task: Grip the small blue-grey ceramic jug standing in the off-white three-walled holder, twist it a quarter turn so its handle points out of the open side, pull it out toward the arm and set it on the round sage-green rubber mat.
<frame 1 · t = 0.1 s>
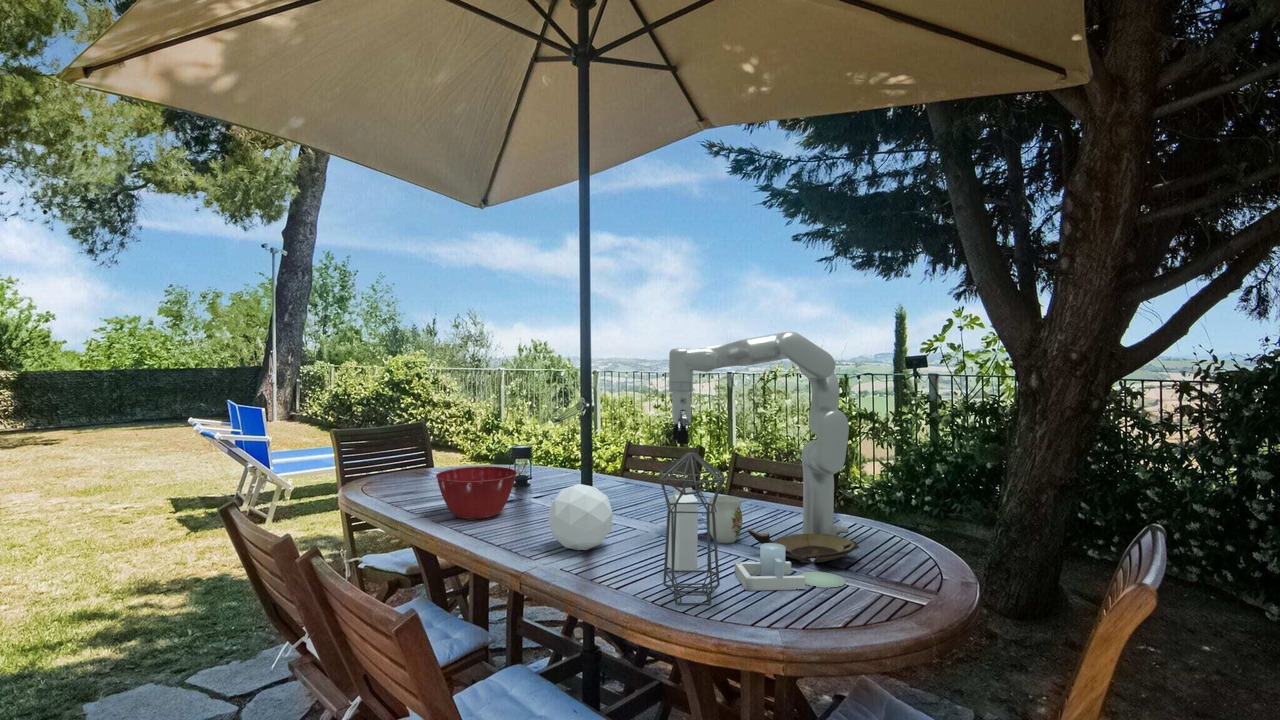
hand: (680, 441, 207), 31 cm above the table, tool pointing down, fingers open, 9 cm apart
jug: (772, 581, 170), resting in holder
holder: (768, 581, 170), on the table
mat: (821, 580, 171), on the table
geometric lantern: (690, 597, 158), on the table
pitcher: (725, 540, 209), on the table
ball: (580, 548, 198), on the table
oil lamp: (803, 558, 191), on the table
milk: (682, 569, 179), on the table
mixing bowl: (476, 516, 237), on the table
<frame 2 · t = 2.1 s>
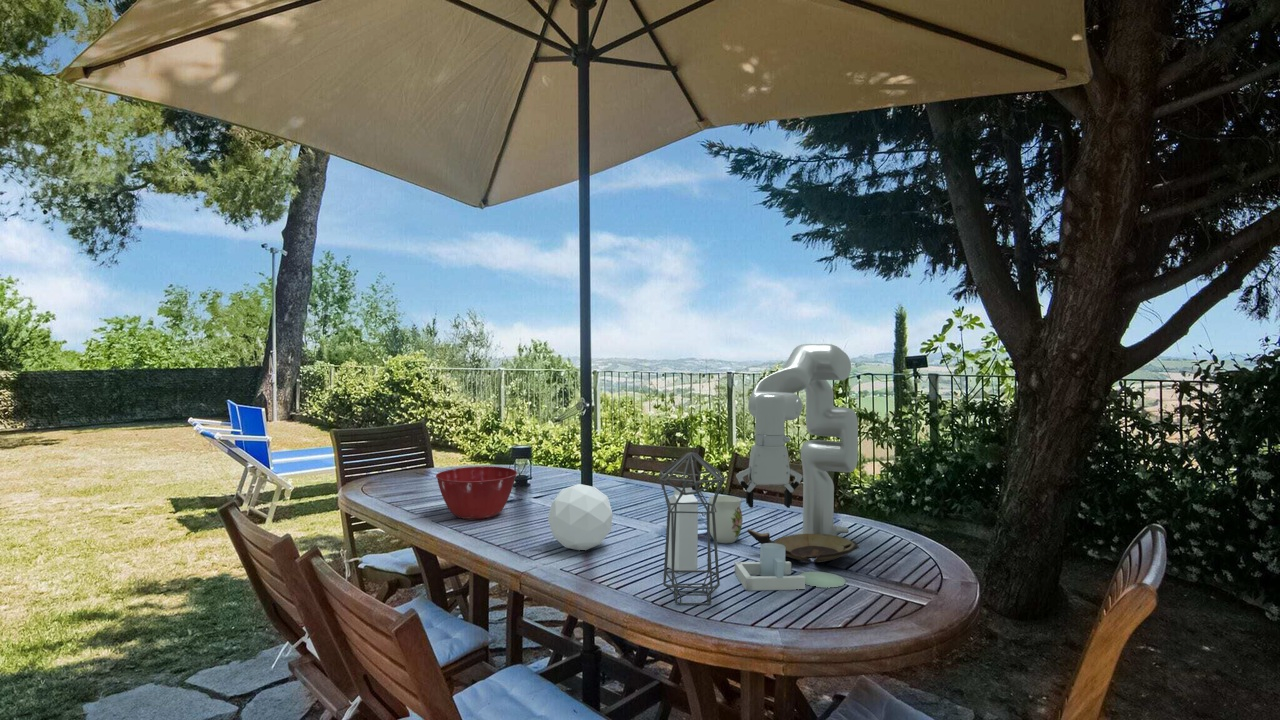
hand: (768, 506, 171), 19 cm above the table, tool pointing down, fingers open, 9 cm apart
nothing on the table moved.
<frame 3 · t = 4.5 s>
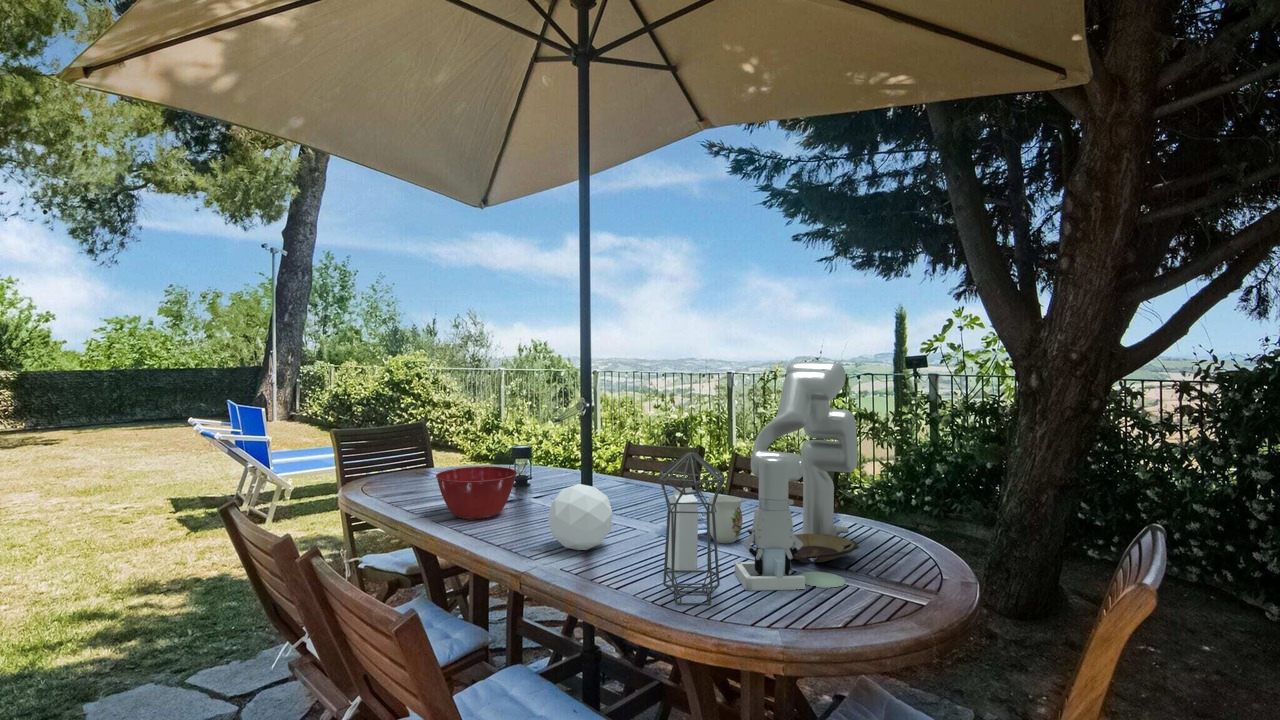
hand: (772, 572, 170), 2 cm above the table, tool pointing down, fingers closed on jug, 6 cm apart
jug: (772, 581, 170), resting in holder, touching gripper
everything else where it was.
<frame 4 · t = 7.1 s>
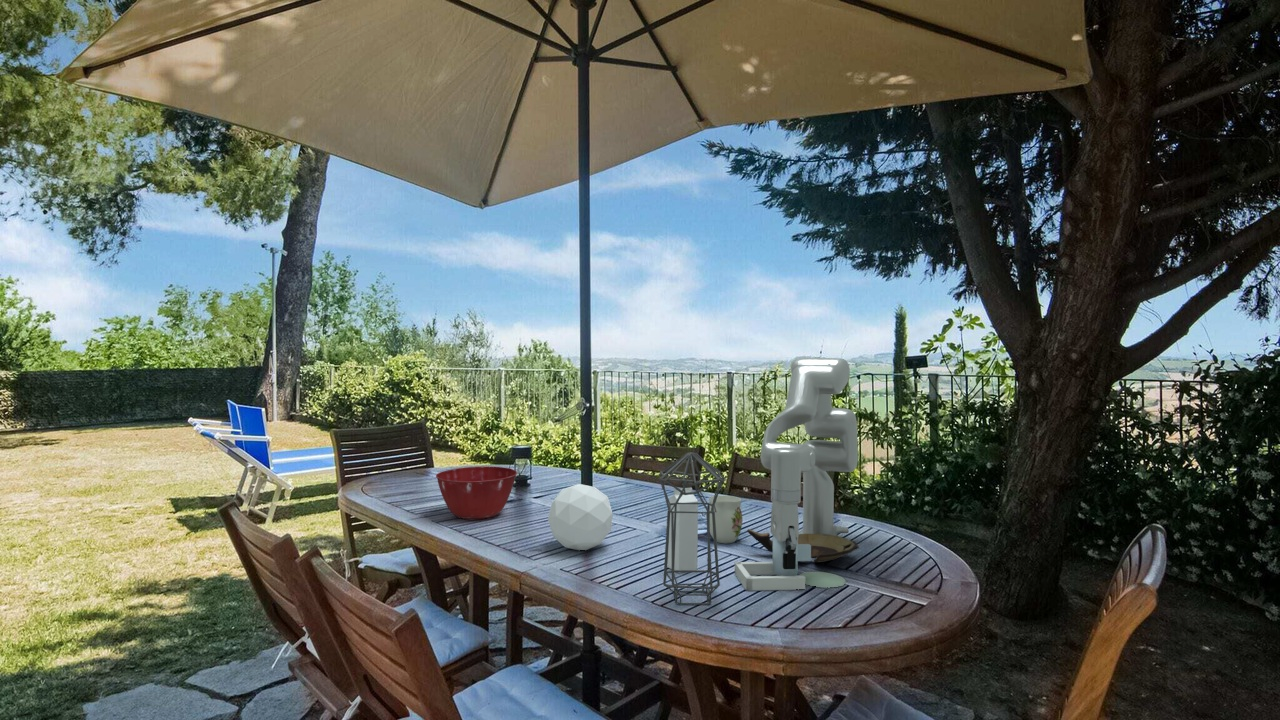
hand: (785, 563, 170), 4 cm above the table, tool pointing down, fingers closed on jug, 6 cm apart
jug: (785, 572, 170), point 2 cm above the table, touching gripper
everything else where it was.
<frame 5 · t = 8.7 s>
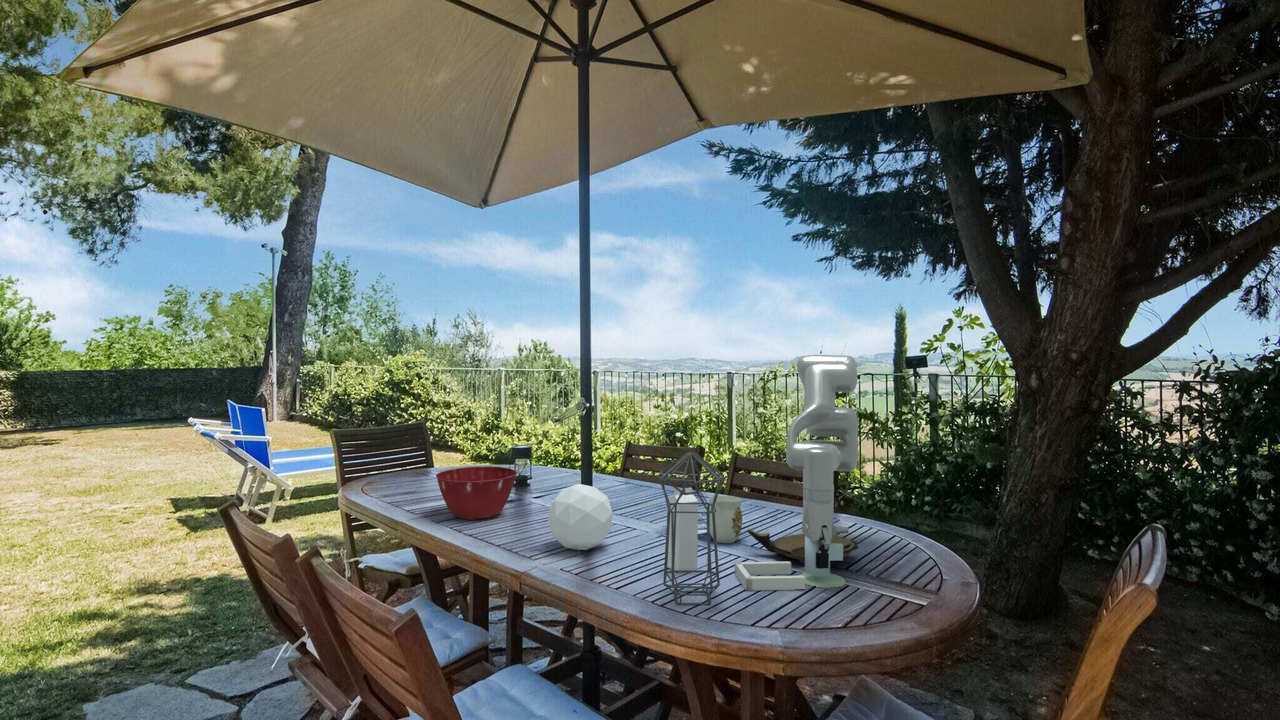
hand: (817, 563, 171), 4 cm above the table, tool pointing down, fingers closed on jug, 6 cm apart
jug: (817, 571, 171), point 2 cm above the table, touching gripper
everything else where it was.
when the fingers open (3 cm above the table, at t = 10.1 s): jug stays where it is, resting on mat.
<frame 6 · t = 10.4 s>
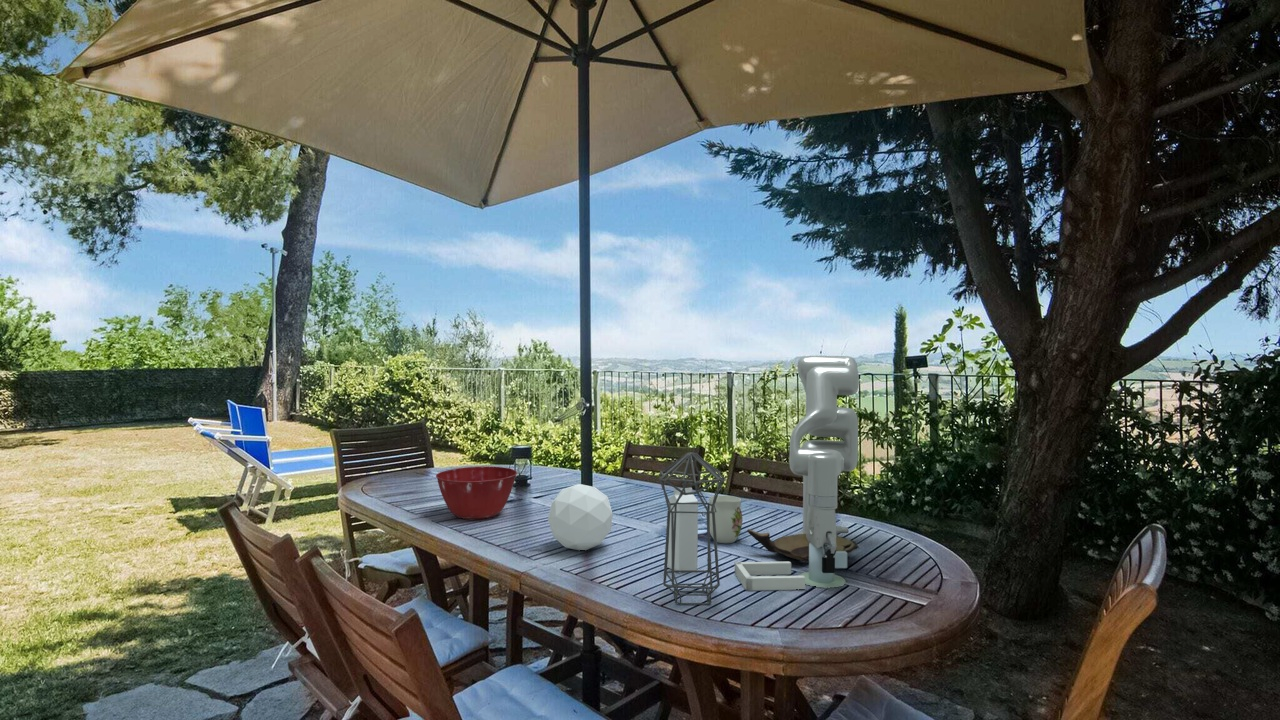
hand: (821, 566, 171), 4 cm above the table, tool pointing down, fingers open, 9 cm apart
jug: (821, 578, 171), resting on mat
everything else where it was.
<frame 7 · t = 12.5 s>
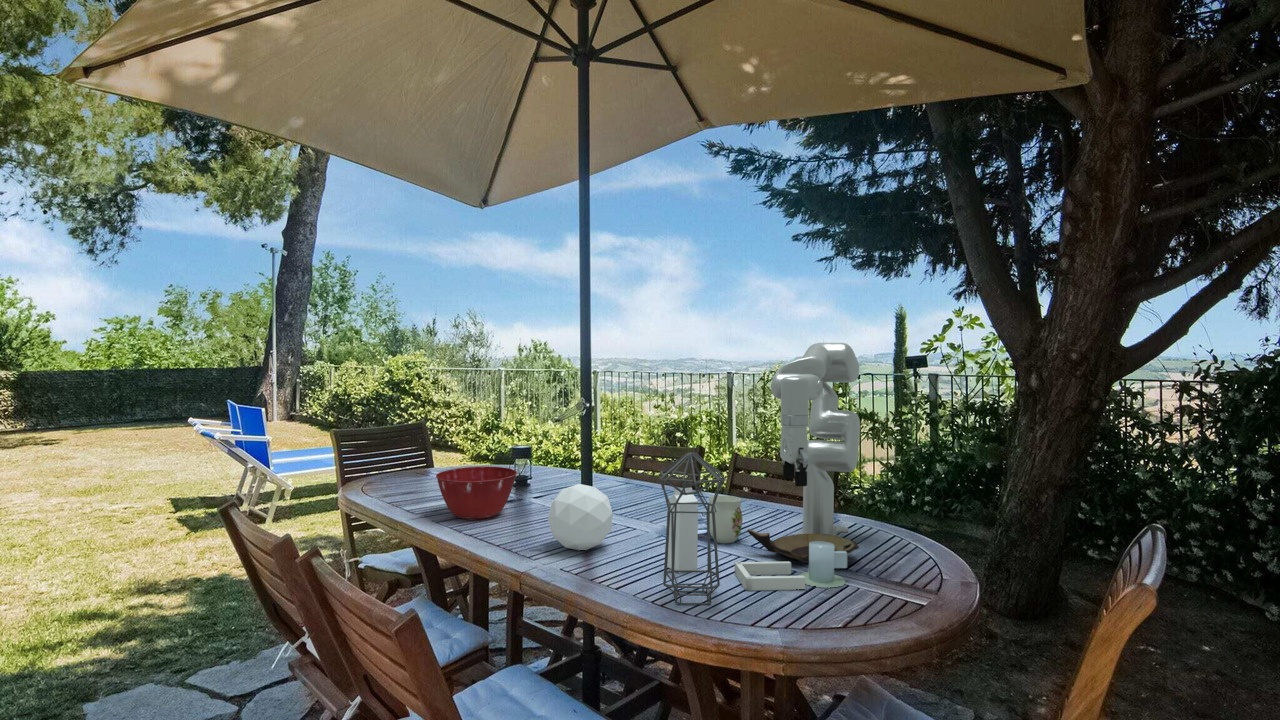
hand: (794, 482, 182), 23 cm above the table, tool pointing down, fingers open, 9 cm apart
nothing on the table moved.
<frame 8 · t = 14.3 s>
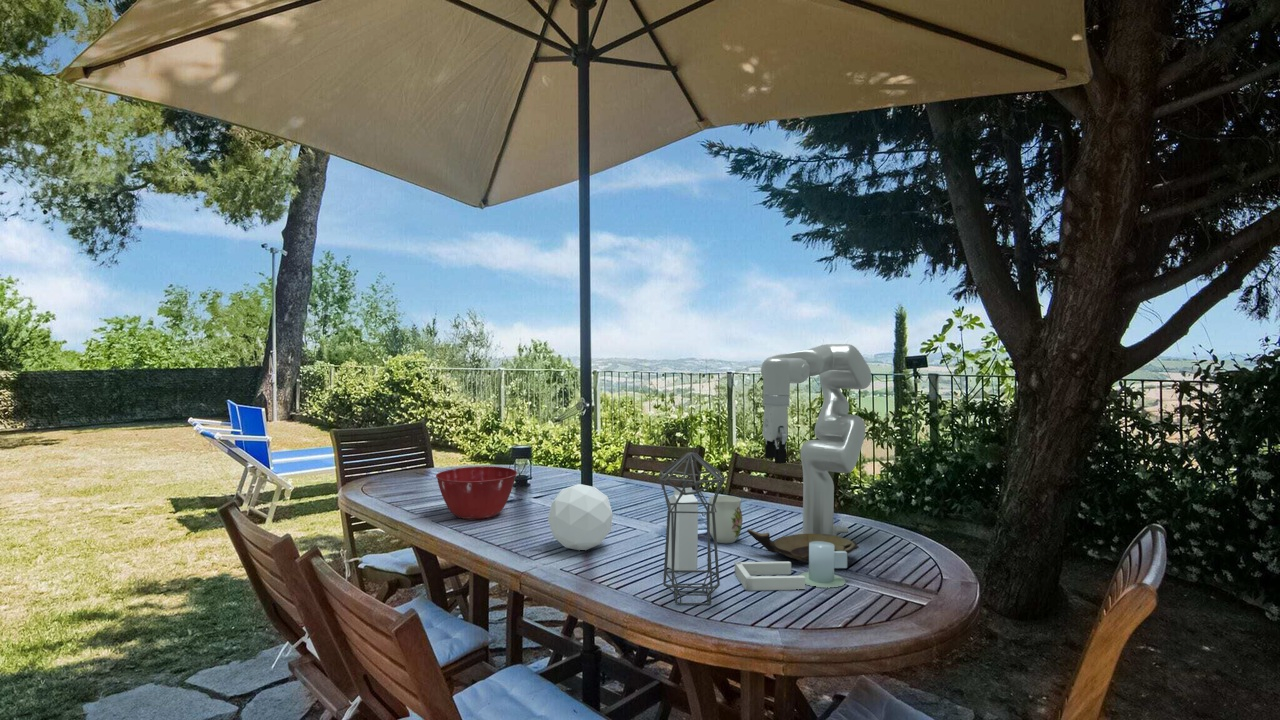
hand: (775, 460, 189), 28 cm above the table, tool pointing down, fingers open, 9 cm apart
nothing on the table moved.
at the end: jug inside the target area on the mat (0.1 cm from its centre), point 0.3 cm above the mat's base; jug tilted 0°; the gripper is holding nothing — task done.
